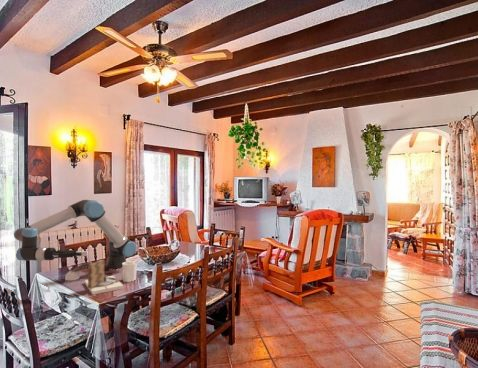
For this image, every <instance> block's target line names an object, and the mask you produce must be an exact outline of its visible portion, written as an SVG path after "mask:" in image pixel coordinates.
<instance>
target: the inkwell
mask: <svg viewBox="0 0 478 368" xmlns="http://www.w3.org/2000/svg"><path fill="white" fill-rule="evenodd" d="M92 263H93V262H85V263H82V264H80V265H78V266H76V267H75V268H74V269H73V270H70V271H68V272H67V273H66V275H65V278H64V280H65V281H66V282H67V281H77V280H79V279H80V278H81V276H80V272H79V271H80V270H81V269H82V268H85V267H87V266H88V265H89V264H92Z"/></svg>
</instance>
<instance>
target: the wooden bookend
mask: <svg viewBox="0 0 478 368" xmlns="http://www.w3.org/2000/svg"><path fill="white" fill-rule="evenodd" d="M105 261H106V260H105V259H101V260H97V261H95V262H94V261H93V262H91V263H92V264H89V265H87V266H88V267H87V268H88V271H87V280H88V288H92V287H94V286H107V285H111V284H113V283H115V278H116V277H115V278H111V277H108V276H107V275H105ZM88 288H87V289H88Z"/></svg>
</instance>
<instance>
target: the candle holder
mask: <svg viewBox="0 0 478 368" xmlns="http://www.w3.org/2000/svg"><path fill="white" fill-rule="evenodd" d="M137 266H138V261H134V260H129V261H127V260H126V262H123V263H122V268H121V269H122V270H121V271H122V281H123V282H124V283H132V282H131V281H133V282H134V280H135V281H136V279H137V272H138V271H137V269H138V268H137Z"/></svg>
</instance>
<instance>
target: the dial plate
mask: <svg viewBox="0 0 478 368" xmlns="http://www.w3.org/2000/svg"><path fill="white" fill-rule="evenodd" d="M107 277H111V278H115V283H113V284H111V285H107V286H94V287H92V288H88V279H85V280H84V284H85V286H86V288H87V289H88V291H89V292H90V293H91V295H98V294H104V293H108V292H109V293H110V292H113V291H119V290H123V289H124V284H123V283H122V282H121V281H120V280H119V279H118V278H117V277H115V275H109V276H107Z"/></svg>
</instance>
